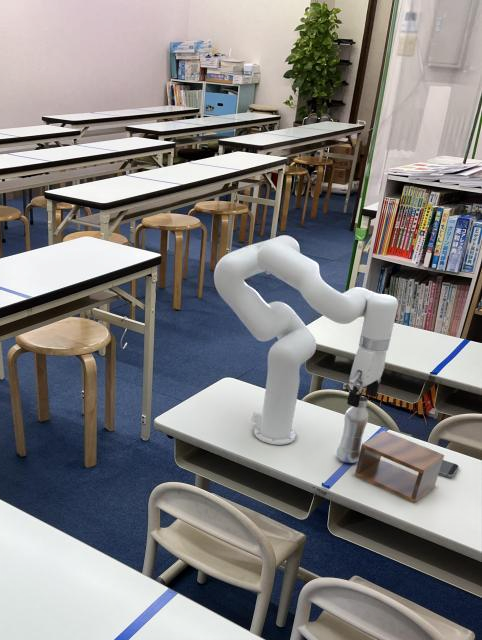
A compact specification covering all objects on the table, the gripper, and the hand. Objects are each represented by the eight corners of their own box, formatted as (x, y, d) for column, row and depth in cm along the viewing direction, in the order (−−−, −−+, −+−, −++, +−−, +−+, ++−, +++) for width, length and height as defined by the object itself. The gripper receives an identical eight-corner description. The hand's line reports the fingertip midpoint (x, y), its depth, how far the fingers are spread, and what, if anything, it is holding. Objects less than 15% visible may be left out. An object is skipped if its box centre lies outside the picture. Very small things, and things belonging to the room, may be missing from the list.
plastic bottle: (359, 467, 200) (374, 405, 189) (335, 464, 201) (349, 402, 190) (358, 456, 205) (372, 395, 195) (334, 453, 206) (347, 392, 196)
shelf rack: (354, 475, 196) (362, 443, 190) (375, 461, 203) (383, 430, 198) (414, 503, 185) (424, 470, 180) (434, 486, 192) (444, 454, 187)
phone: (458, 467, 201) (403, 449, 209) (459, 464, 201) (404, 447, 209) (451, 478, 196) (395, 460, 204) (452, 476, 196) (396, 457, 203)
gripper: (377, 330, 191) (365, 387, 200) (344, 346, 181) (333, 405, 190) (403, 338, 187) (389, 396, 196) (370, 354, 176) (357, 414, 185)
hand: (361, 400), depth 193 cm, fingers open, 9 cm apart
